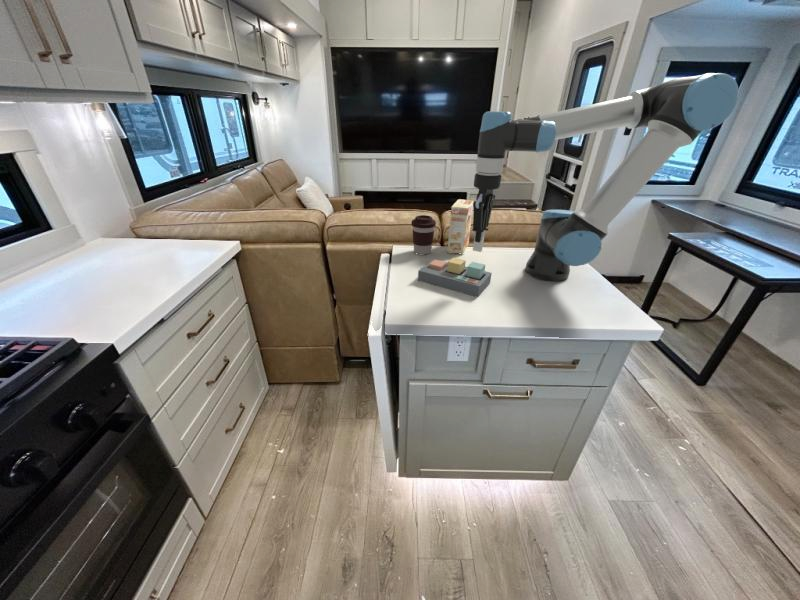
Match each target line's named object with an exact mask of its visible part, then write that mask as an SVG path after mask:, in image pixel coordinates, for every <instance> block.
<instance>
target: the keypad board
mask: <svg viewBox="0 0 800 600" xmlns="http://www.w3.org/2000/svg"><path fill="white" fill-rule="evenodd" d="M434 260H436V259H435V258H434V259H432V260H431V261H429V262H428V263H427V264H425V265H424V266H423V267H421V268H420V269H418V271H417V273H418V274H417V275H418V276H417V281H418V282H420V283H424V284H429V285H431V286H436V287H439V288H441V289H442V288H443V289H446V290H450V291H454V292H457V293H460V294H464V295H468V296H471V297H475V298H479V297H480V295H481V294H483V292H484V291H485V290H486V289H487V287H488V286H489V285H490V284H491V281H492V274H493V273H492V272H491V271H486V270H485V271H484V275H483V276H482V277H481V278H480V279H477V278H473V277H469V276H466V273H467V266H465V270H464V271H463V272H461V273H460V274H457V273H453V272H448V271H447V268H448V262H447V261H446V262H447V265H446V268H445V269H443V270H442V271H440V270H436V269H432V268H429V264H430V263H431V262H433V261H434ZM438 260H439V259H438ZM439 261H441V260H439ZM442 261H443V262H445V261H444V260H442Z"/></svg>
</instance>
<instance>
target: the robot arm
mask: <svg viewBox="0 0 800 600" xmlns="http://www.w3.org/2000/svg"><path fill="white" fill-rule="evenodd" d="M738 93H739V85H738V83H737V81H736V79H735V78H734V77H733V76H731V75H730V74H727V73H724V72H723V73H722V72H717V73H715V72H707V73H703V74H700V75H694V76H686V77H685V76H684V77H680V78H679V77H677V78H673V79H671V80H668V81H664V82H662V83H659V84H656V85H653V86H650V87H645V88H642V89H639V90H633V91H631V93H630V94H629V95H628V96H624V97H620V98H615V99H611V100H607V101H601V102H597V103H592V104H589V105H588V104H587V105H582V106H579V107H574V108H569V109H564V110H559V111H556V112H551V113H546V114H542V115H541V114H540V115H537V116H533V117H527V118H519V119H512V112H510V111H495V110H494V111H492V110H491V111H485V112H484V113H483V115H482V118H481V125H480V129H479V137H478V146H477V156H476V157H477V158H476V159H475V161H474V163H475V164H476V165H475V172H476V173H475V174H474V180H473V187H474V188H476V189H477V190H478V191H477V192H478V193H477V195H476V198H475V199H476V200H473V201H474V202H473V213H472V220H473V221H472V230H471V231H473V232H474V238H473V245H472V251H474V252H479V253H481V252H483V247H484V241H485V234H486V231H487V232H488V231H489V224H490V219H491V214H492V210H493V205H494V202H495V199H496V195H495V194H494V190H498V189H499V188H501V182H502V173H503V172H504V171H503V169H504V164H505V158H506V152H528V153H529V152H532V153H533V152H534V153H540V152H543V153H545V152H549V151H550V150H551V148H553V146H554V142H555V141H556V140H562V139H567V138H571V137H578V136H581V135H588V134H592V133H596V132H603V131H608V130H613V129H617V128H622V127H626V129H631V130H632V129H636V128H643V127H644V128H647V129H648V130H647V132H646V134H644V136H643V137H642V138H641V139H640V141H638V143H637V144H636V145H635V147H634V148H632V150H631V151H630V152H629V154H628V155H627V156H626V157H625V158H624V160H622V162H620V164H619V166H618V167H617V168H616V169H615V170H614V171H613V172H612V174H611V175H610V176H609V178H607V180H606V181H605V182H604V183H603V184H602V186H601V187H599V190H597V191H596V193H595V194H594V195H593V196H592V197H591V199H590V200H589V201H588V202H587V203H586V204H585V206H584V207H583V208H582V209H581V210H576V211H575V210H568V209H567V210H566V209H546V210H544V211H543V213H542V216H541V218H540V223H539V228H538V232H537V237H536V242H535V247H534V250H533V252H532V254H531V256H530V257H529V259H528V260H527V262H526V263H525V264H526V265H525V268H524V271H525V273H526V274H528V275H529V276H531V277H533V278H536V279H539V280H541V281H548V282H549V281H550V282H562V281H565V280H567V279H568V278H569V276H570V273H571V267H580V266H584V265H587V264H589V263H591V262H592V261H594V260H595V259H596V258H597V257H598V256H599V255H600V252H601V251H602V241H603V239H604V238H606V236H607V235H608V234H609V229H608V227H609V225H610V224H611V223H612V221H614V220H615V219H616V217H618V215H619V214H620V213H621V212H622V210H624V209H625V208H626V206H628V204H629V203H630V202H631V201H632V200H633V199H634V197H636V196H637V194H638V193H639V192H640V191H641V190H642V189H643V188H644V186H646V185H647V183H648V182H649V181H650V180H651V179H652V178H653V177H654V175H656V173H658V172H659V170H660V169H661V168H662V167H663V166H664V164H665V163H666V162H667V161H668V160H669V159H670V158H671V157H672V156H673V155H674V154H675V152H676V151H677V150H678V149H679V148H681V147H686V146H688V145H689V146H690V145H691V144H692V143H694V141H695V140H696V139H697V138H698V137H699V135H701V134H702V132H704V131H708V130H711V129H714V128H716V127H719V125H721V124H722V123H724V122H725V121H726V120H727V119H728V118H729V117H730V115H731V114H732V113H733V112H734V110H735V108H736V106H737V102H738V101H739V95H738Z"/></svg>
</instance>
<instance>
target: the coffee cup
mask: <svg viewBox="0 0 800 600" xmlns="http://www.w3.org/2000/svg"><path fill="white" fill-rule="evenodd" d="M410 223H411V226H412V243H413V252H414V253H415V254H416V253H417V254H416V255H419V254H427V255H429V254H430V253H432V247H433V242H434V235H435V234H434V233H435V227H436V225H437V221H436V220H435V219H434V218H433V217H432V216H431V215H426V214H423V215H417V216H415V218H414V219H412V220H411V222H410Z"/></svg>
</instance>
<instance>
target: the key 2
mask: <svg viewBox="0 0 800 600" xmlns="http://www.w3.org/2000/svg"><path fill="white" fill-rule="evenodd" d="M466 267H467V273H466V276H469V277H473V278H477V279H480V278H481V277H482V276H483V275H484V271H486V264H484V263H479V262H476V261H472V262H470V264H468V265H467V266H466Z"/></svg>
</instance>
